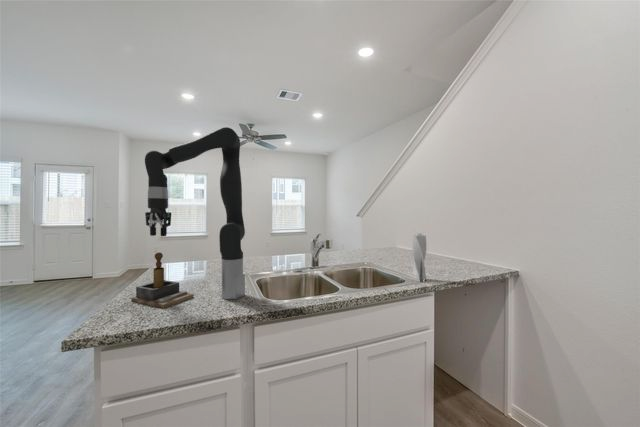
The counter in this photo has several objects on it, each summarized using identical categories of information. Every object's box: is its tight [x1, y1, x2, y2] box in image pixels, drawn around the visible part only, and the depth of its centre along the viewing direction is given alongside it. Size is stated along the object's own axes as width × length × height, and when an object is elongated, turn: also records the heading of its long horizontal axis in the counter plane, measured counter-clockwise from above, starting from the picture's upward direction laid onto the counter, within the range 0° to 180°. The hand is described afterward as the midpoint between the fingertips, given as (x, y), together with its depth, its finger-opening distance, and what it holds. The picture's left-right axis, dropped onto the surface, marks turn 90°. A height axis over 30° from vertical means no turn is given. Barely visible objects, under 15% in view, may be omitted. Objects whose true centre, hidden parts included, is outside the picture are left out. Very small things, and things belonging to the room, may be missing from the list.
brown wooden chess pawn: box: [152, 252, 165, 289], centre depth 111 cm, size 7×6×18 cm
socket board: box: [130, 279, 194, 309], centre depth 110 cm, size 20×14×6 cm
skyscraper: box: [411, 230, 427, 283], centre depth 143 cm, size 8×8×28 cm
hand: (158, 235), depth 111 cm, fingers open, 6 cm apart
